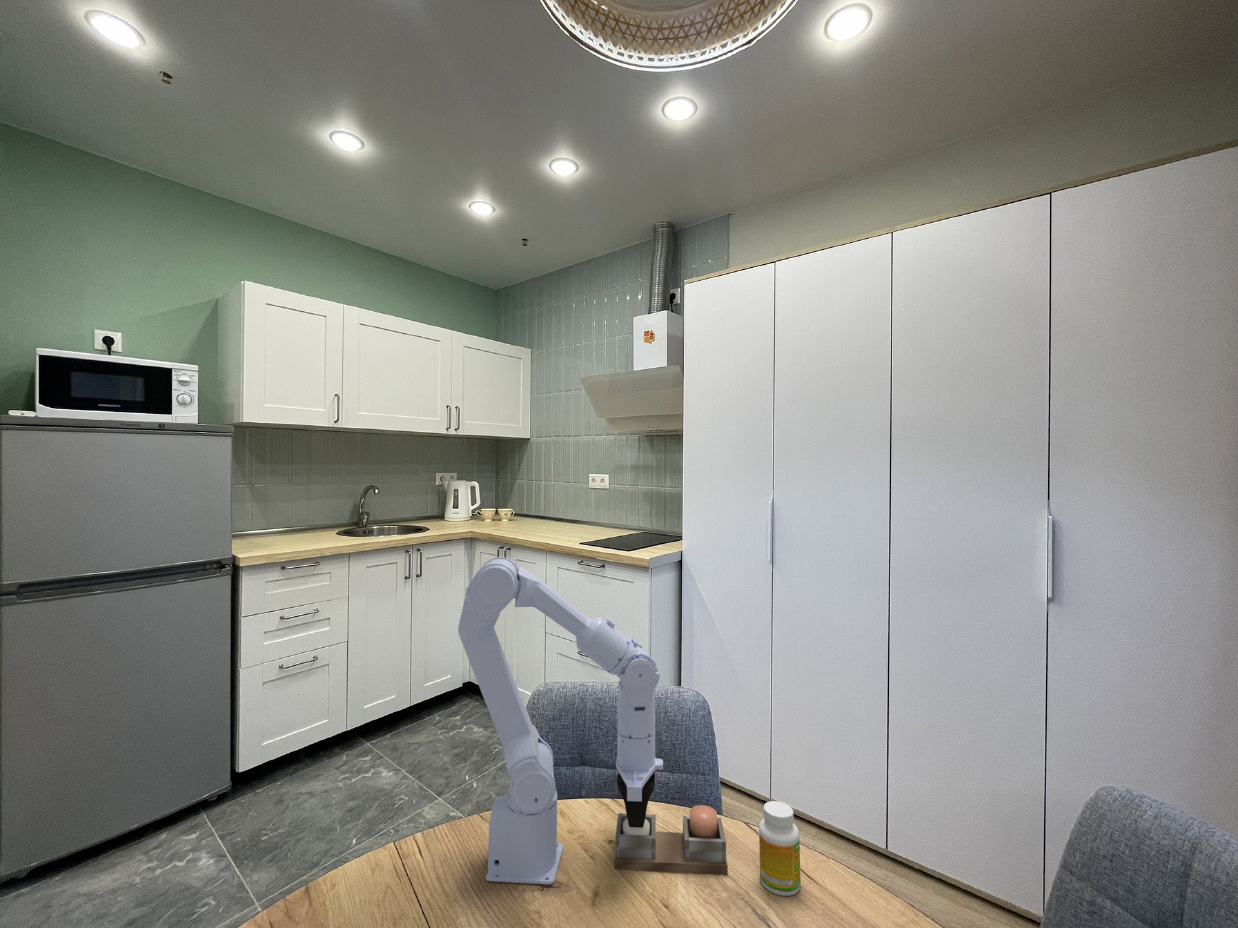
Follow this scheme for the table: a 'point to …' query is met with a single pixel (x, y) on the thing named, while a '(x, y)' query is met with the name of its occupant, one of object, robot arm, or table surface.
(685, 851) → the panel
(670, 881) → the table surface
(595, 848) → the table surface
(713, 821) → the tan rounded dome
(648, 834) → the white plunger
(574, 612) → the robot arm
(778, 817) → the supplement bottle
